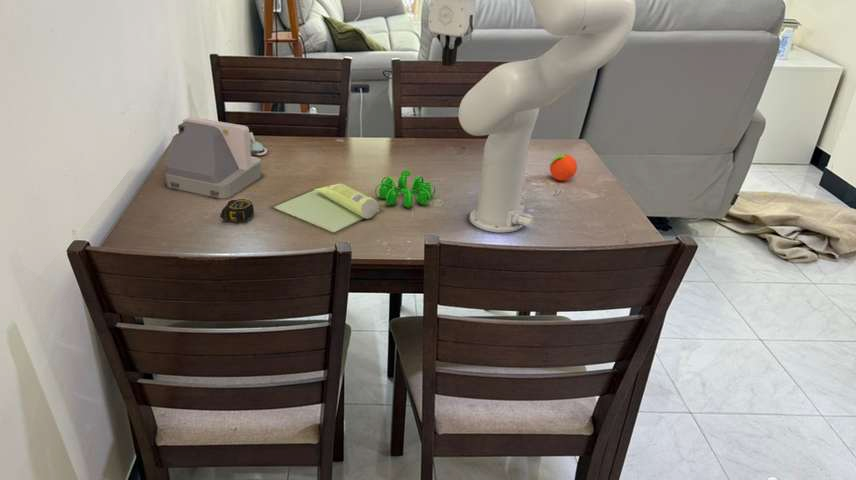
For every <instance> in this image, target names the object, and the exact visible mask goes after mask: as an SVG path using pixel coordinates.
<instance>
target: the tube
mask: <svg viewBox="0 0 856 480" xmlns="http://www.w3.org/2000/svg"><path fill="white" fill-rule="evenodd" d="M314 190H316V191H318V192H320V193H321V194H323V195H325V196H326V197H328V198H330V199H332V200H333V201H335V202H337V203H339V204H340V205H342V206H344V207H345V208H347V209H349V210H351V211H353V212H354V213H356V214H358V215H360V216H361V217H363V218H364V219H366V220H369V219H371V218H373V217H375V215H376V214H377V213H378V212H377V210H379V204H378V202H377V200H376V199H375V198H373V197H371V196H368V195H367V194H364V193H363V192H360V191H358V190H356V189H355V188H352V187H350V186H348V185H345V184H344V183H335V184H332V185H326V186H323V187H318V188H314Z"/></svg>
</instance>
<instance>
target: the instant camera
mask: <svg viewBox="0 0 856 480" xmlns="http://www.w3.org/2000/svg"><path fill="white" fill-rule="evenodd" d="M177 131H178V133H177V134H175V135H173V136H172V139H171V143H170V146H169V149H168V152H167V155H166V159H165V169H166V172H165V182H166V187H168V188H169V189H175V190H178V191H184V192H188V193H193V194H198V195H202V196H207V197H212V198H217V199H228V198H231V197H233V196H235V194H238V193H239V192H240V191H242V190H243V189H245V188H246V187H248V186H249V185H251V184H253V183H255V181H256V182H257V180H259V179H260V178H261V177H262V168H261V158H260V157H258V156H254V155H251V150H250V147H251V146H250V137H249V133H250V129H249V126H247V125H243V124H238V123H237V124H236V123H232V122H231V123H230V122H226V121H225V122H224V121H218V120H212V119H206V118H200V117H194V116H189V117H187V118H186V117H185V118H184V119H183V120H182V123H179V124H178V125H177Z"/></svg>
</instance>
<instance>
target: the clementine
mask: <svg viewBox="0 0 856 480" xmlns="http://www.w3.org/2000/svg"><path fill="white" fill-rule="evenodd" d="M577 170H578V164H577V161H576V159H575V158H574V157H573V156H571V155H570V154H566V153H561V154H558V155H557V156H555V157H554V158H553V159H552V160H551V162H550V164H549V171H550V175H551V176H552V177H553V178H554V179H555V180H556V181H568V180H570V179H572V178H573V177H574V176H575V175H576V173H577Z"/></svg>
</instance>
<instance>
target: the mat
mask: <svg viewBox="0 0 856 480" xmlns="http://www.w3.org/2000/svg"><path fill="white" fill-rule="evenodd" d="M273 209H275V210H278V211H280V212H282V213H284V214H287V215H290V216H293V217H294V218H297V219H299V220H302V221H304V222H307V223H310V224H311V225H315V226H316V227H319V228H322V229H324V230H326V231H329V232H331V233H337V232H339V231H341V230H344V229H345V228H347V227H349V226H351V225H353V224H355V223H358V222H359V221H361V220H364V219H365V218H363V217H361V216H360V215H358V214H356V213H354V212H353V211H351V210H349V209H347V208H345V207H344V206H342V205H340V204H339V203H337V202H335V201H333V200H332V199H330V198H328V197H326V196H325V195H323V194H321V193H320V192H318V191H316V190H315V189H313V190H312V191H309V192H306V193H305V194H302V195H298V196H297V197H294V198H292V199H290V200H287V201H285V202H282V203H280V204H277V205H275V206H273ZM379 212H380V209H378V210H377V212H376V213H379Z"/></svg>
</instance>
